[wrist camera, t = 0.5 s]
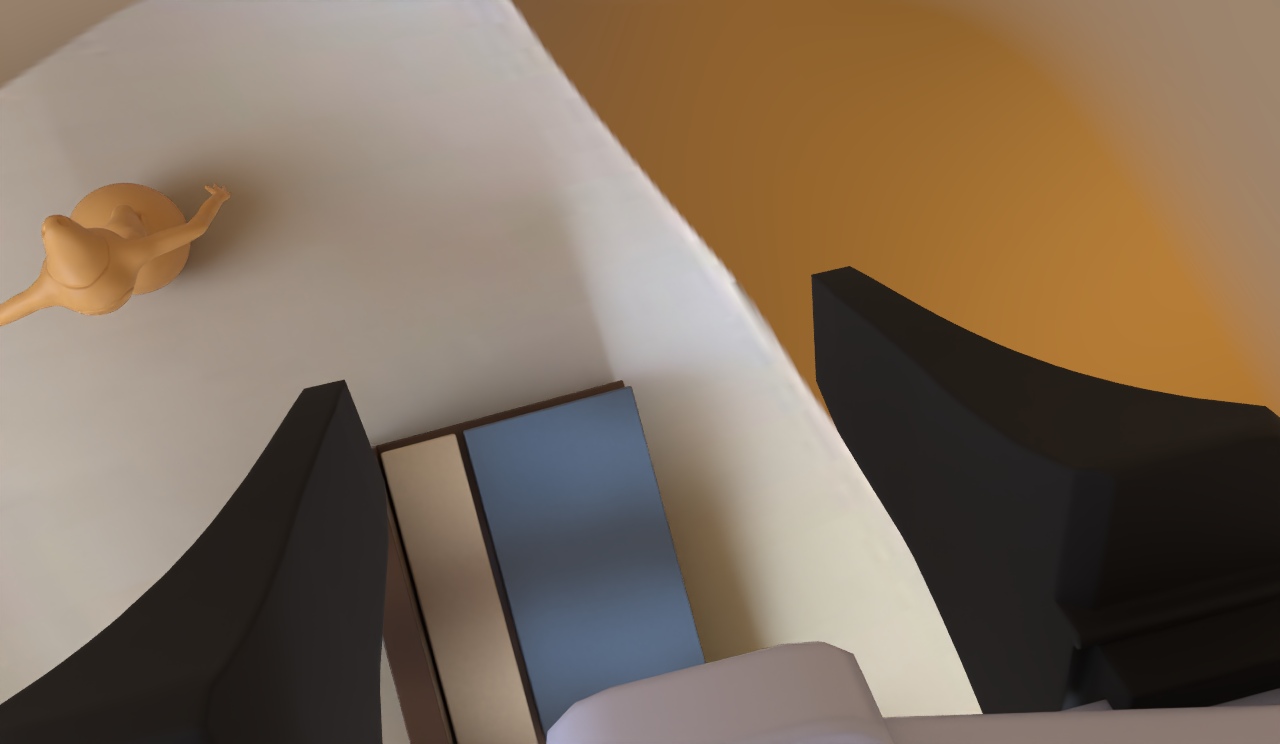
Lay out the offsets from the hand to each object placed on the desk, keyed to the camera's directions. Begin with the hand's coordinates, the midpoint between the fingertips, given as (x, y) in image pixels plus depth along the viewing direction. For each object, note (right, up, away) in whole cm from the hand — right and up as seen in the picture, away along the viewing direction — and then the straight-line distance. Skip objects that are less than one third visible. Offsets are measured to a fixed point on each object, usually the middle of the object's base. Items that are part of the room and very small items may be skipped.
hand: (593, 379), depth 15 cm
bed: (-4, -8, +25) cm, 27 cm away
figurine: (-18, +4, +23) cm, 29 cm away
